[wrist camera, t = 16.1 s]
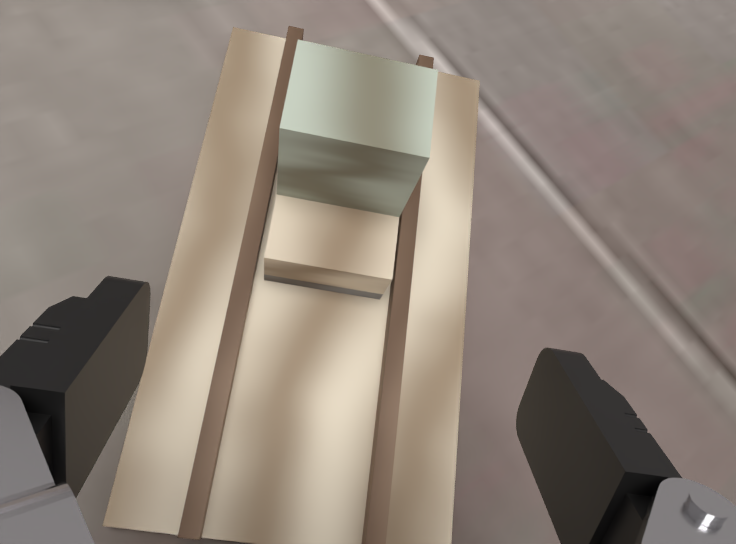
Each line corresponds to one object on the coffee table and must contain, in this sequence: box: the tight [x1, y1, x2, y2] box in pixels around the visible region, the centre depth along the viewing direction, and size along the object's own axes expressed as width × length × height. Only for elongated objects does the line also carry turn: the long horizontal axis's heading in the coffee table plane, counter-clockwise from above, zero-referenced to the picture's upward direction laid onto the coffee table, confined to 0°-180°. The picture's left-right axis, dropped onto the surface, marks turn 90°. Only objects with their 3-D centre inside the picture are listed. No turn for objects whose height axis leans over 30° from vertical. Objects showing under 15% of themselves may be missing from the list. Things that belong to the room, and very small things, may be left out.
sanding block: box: [264, 40, 438, 299], centre depth 25 cm, size 6×10×8 cm, turn 173°
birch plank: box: [103, 26, 480, 544], centre depth 28 cm, size 14×25×2 cm, turn 173°
